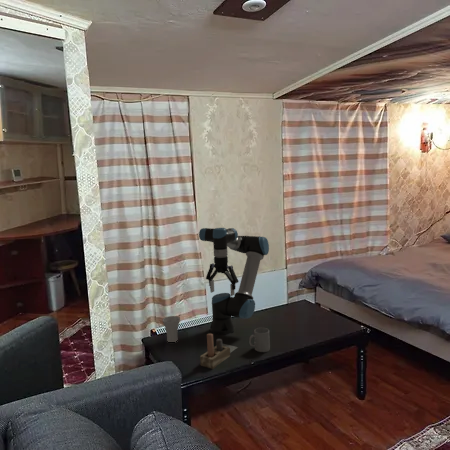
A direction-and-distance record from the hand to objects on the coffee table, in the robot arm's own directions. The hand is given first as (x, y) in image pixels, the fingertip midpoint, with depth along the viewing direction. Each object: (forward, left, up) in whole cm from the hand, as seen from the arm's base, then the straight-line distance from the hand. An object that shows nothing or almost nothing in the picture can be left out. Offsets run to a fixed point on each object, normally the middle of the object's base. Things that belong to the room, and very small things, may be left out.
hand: (222, 293), depth 230 cm
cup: (-32, -7, -32) cm, 46 cm away
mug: (+19, +7, -32) cm, 38 cm away
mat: (+2, -2, -32) cm, 32 cm away
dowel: (+5, -20, -32) cm, 38 cm away
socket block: (+5, -16, -32) cm, 36 cm away
